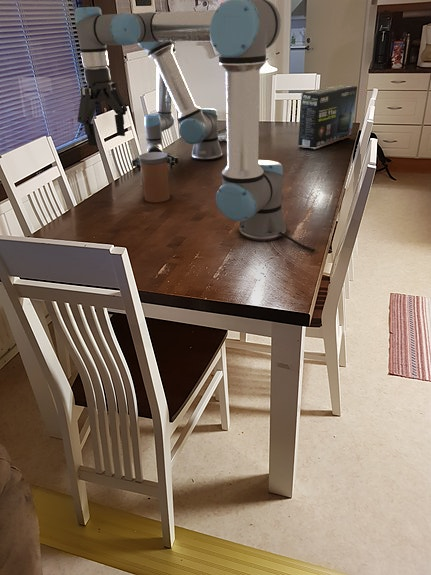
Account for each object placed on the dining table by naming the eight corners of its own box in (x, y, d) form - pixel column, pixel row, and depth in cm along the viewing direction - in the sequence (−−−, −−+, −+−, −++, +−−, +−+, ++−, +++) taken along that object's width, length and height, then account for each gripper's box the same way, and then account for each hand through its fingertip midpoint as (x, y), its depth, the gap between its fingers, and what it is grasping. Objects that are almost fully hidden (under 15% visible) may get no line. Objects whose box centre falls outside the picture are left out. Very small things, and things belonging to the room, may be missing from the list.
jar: (153, 192, 187) (149, 152, 179) (174, 195, 183) (171, 154, 175) (139, 200, 179) (134, 159, 171) (161, 203, 175) (156, 161, 167)
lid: (149, 155, 180) (149, 150, 179) (173, 157, 175) (172, 153, 174) (133, 162, 172) (132, 158, 171) (157, 165, 167) (157, 160, 166)
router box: (314, 151, 231) (318, 94, 217) (296, 148, 237) (299, 92, 224) (352, 138, 251) (358, 85, 238) (335, 135, 258) (340, 83, 245)
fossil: (241, 138, 244) (222, 120, 247) (230, 154, 251) (212, 137, 254) (257, 136, 258) (239, 120, 261) (247, 152, 264) (229, 136, 267)
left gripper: (182, 160, 216) (185, 173, 198) (129, 163, 214) (127, 177, 196) (181, 144, 213) (183, 156, 194) (127, 147, 210) (124, 160, 192)
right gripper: (114, 63, 147) (123, 131, 158) (55, 72, 129) (70, 148, 140) (132, 63, 144) (140, 132, 155) (75, 72, 126) (88, 150, 137)
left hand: (155, 167), depth 195 cm, fingers open, 13 cm apart
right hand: (107, 140), depth 148 cm, fingers open, 13 cm apart
